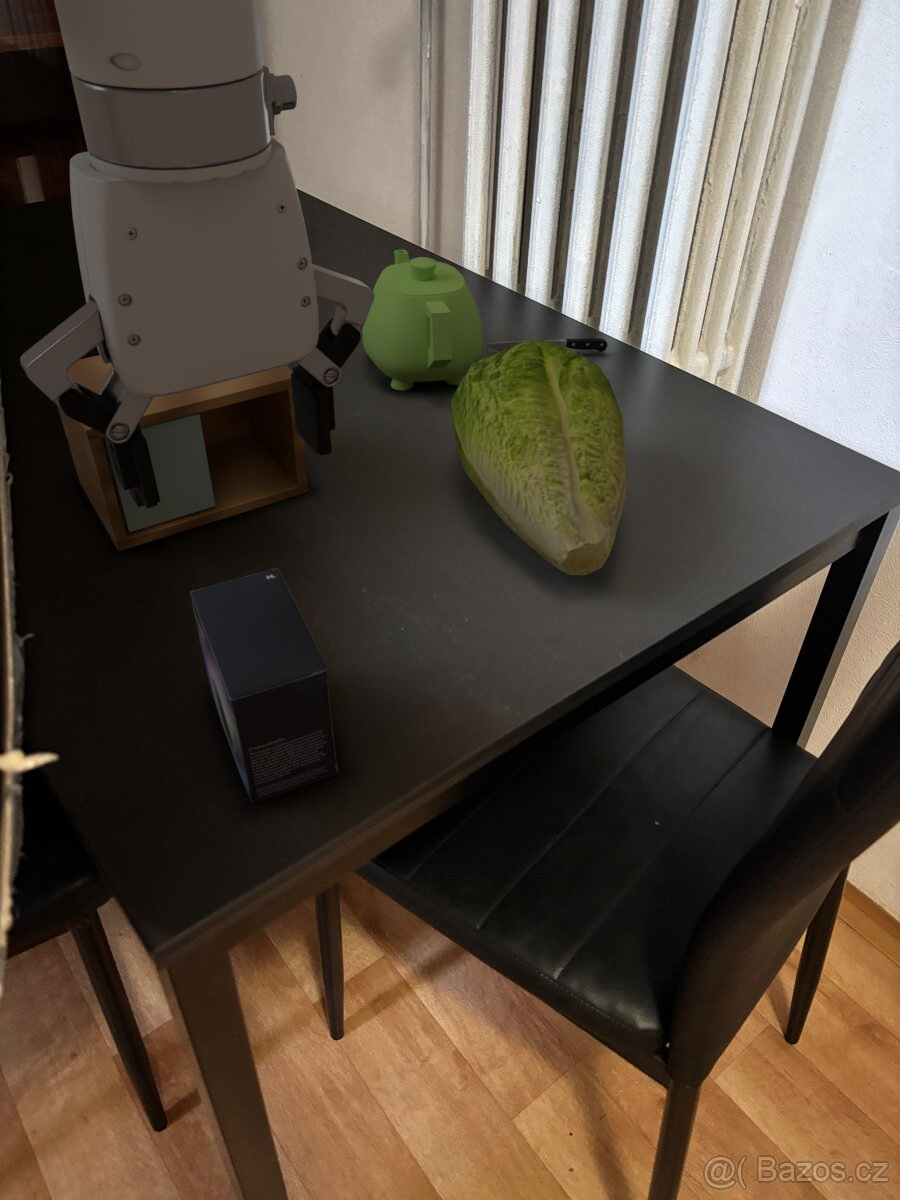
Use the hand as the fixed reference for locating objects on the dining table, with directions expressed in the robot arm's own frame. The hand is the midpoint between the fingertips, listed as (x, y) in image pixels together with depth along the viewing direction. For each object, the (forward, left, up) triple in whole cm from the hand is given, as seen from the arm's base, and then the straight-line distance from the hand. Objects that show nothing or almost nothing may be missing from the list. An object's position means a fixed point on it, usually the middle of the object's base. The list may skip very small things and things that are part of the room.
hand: (232, 467), depth 49 cm
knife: (+51, +37, -22) cm, 67 cm away
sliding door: (+2, +24, -21) cm, 32 cm away
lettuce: (+32, +12, -22) cm, 41 cm away
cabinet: (+6, +32, -22) cm, 39 cm away
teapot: (+37, +42, -22) cm, 60 cm away
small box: (0, 0, -22) cm, 22 cm away
